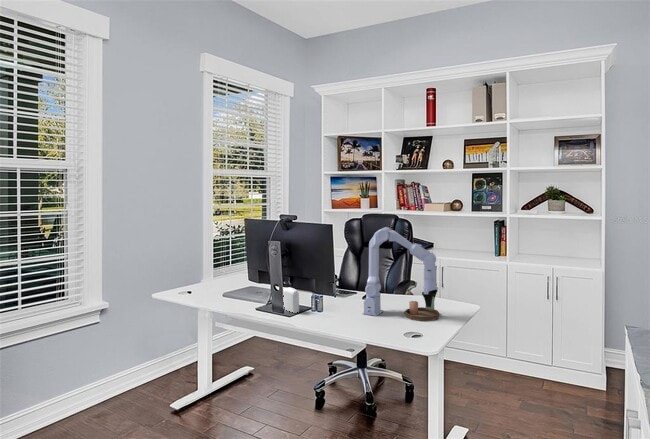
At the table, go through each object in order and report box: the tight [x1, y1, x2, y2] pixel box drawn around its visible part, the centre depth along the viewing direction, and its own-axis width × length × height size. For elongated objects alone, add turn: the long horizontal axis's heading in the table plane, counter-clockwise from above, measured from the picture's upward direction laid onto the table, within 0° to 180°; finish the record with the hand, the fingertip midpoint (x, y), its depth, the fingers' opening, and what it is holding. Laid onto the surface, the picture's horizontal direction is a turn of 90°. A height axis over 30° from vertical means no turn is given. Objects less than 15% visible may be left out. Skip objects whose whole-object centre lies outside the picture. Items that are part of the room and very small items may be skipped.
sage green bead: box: [425, 296, 435, 310], centre depth 225 cm, size 4×4×6 cm
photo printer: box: [282, 286, 300, 314], centre depth 240 cm, size 10×4×12 cm, turn 39°
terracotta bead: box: [408, 300, 419, 315], centre depth 229 cm, size 4×4×6 cm
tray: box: [404, 306, 440, 322], centre depth 227 cm, size 16×16×2 cm
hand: (429, 305), depth 225 cm, fingers closed on sage green bead, 4 cm apart
